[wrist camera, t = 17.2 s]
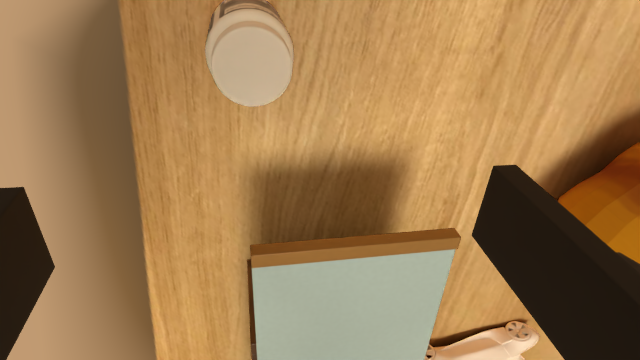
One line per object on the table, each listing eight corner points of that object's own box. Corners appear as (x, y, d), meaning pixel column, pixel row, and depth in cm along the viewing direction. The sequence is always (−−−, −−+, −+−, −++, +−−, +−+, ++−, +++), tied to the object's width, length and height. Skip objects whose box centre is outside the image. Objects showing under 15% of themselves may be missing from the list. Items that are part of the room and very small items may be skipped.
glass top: (260, 410, 34) (263, 468, 31) (250, 244, 25) (253, 299, 21) (410, 387, 36) (430, 438, 33) (454, 227, 27) (488, 274, 23)
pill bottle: (254, 80, 29) (260, 131, 22) (195, 36, 27) (182, 77, 20) (297, 26, 27) (319, 62, 20) (239, -26, 25) (241, -5, 18)
